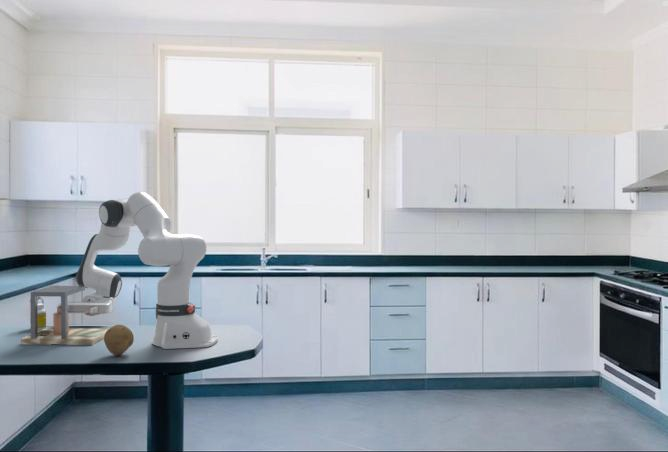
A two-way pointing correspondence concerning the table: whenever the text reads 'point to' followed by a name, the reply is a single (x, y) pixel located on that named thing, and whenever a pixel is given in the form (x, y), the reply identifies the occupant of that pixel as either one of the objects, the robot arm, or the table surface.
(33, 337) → the tunnel roof
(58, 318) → the terracotta bottle
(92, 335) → the birch board
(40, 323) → the supplement bottle
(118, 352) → the natural sponge
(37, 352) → the table surface
